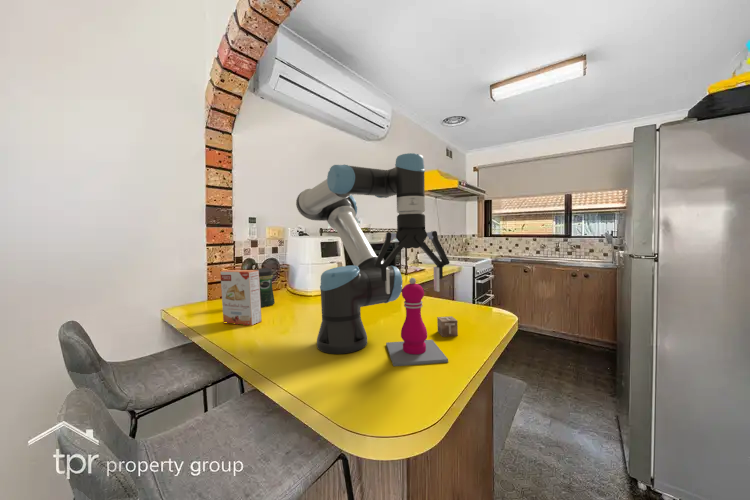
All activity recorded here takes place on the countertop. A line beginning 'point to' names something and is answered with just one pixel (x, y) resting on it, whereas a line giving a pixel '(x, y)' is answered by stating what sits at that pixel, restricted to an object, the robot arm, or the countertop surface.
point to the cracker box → (241, 296)
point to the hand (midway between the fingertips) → (412, 291)
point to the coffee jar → (266, 287)
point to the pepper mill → (413, 319)
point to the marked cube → (447, 326)
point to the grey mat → (427, 357)
